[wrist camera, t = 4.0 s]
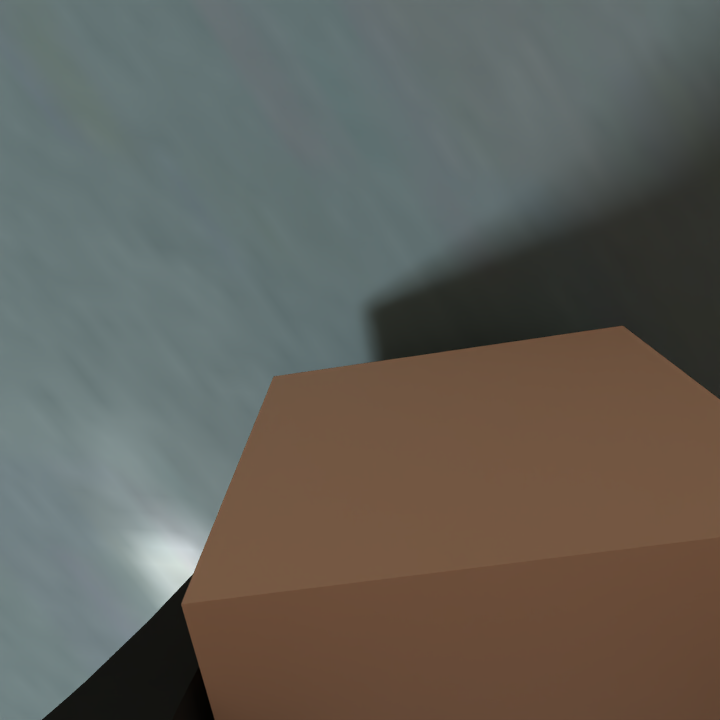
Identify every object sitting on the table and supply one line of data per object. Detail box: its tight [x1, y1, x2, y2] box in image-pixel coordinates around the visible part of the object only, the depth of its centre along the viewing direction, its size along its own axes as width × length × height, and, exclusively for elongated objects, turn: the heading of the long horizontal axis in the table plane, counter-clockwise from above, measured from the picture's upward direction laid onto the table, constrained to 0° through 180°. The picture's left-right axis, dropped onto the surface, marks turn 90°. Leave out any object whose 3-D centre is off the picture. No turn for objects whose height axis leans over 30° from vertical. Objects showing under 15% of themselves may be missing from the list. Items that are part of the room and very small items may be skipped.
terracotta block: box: [181, 326, 720, 720], centre depth 8 cm, size 5×5×5 cm
